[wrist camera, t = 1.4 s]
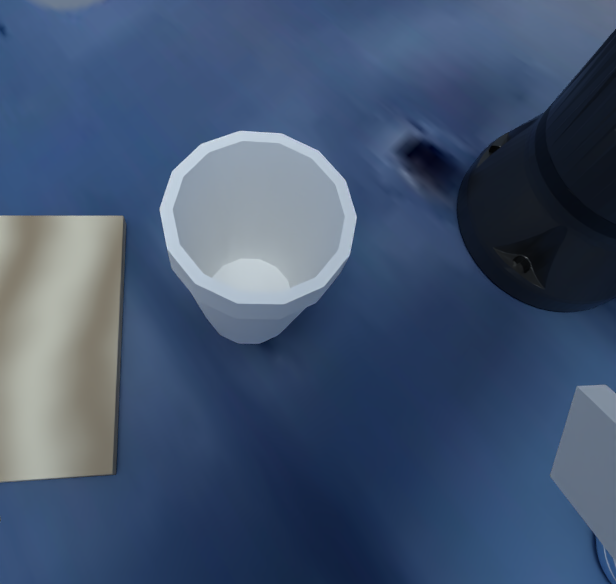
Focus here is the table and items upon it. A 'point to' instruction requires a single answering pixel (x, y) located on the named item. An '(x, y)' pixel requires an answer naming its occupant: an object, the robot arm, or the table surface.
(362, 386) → the table surface
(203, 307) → the foam cup
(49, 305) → the birch board
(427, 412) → the table surface
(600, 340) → the table surface
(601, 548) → the water bottle
